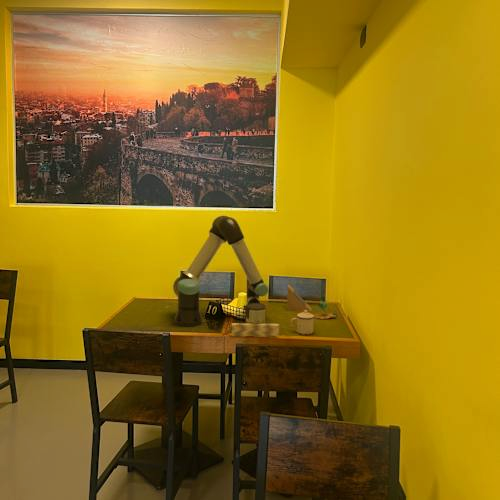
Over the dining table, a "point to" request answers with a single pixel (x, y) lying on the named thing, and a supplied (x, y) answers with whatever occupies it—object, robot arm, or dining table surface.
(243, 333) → the birch board
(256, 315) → the coffee can
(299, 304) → the sandwich container
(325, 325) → the dining table surface
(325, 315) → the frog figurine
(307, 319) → the teacup with lid
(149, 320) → the dining table surface
